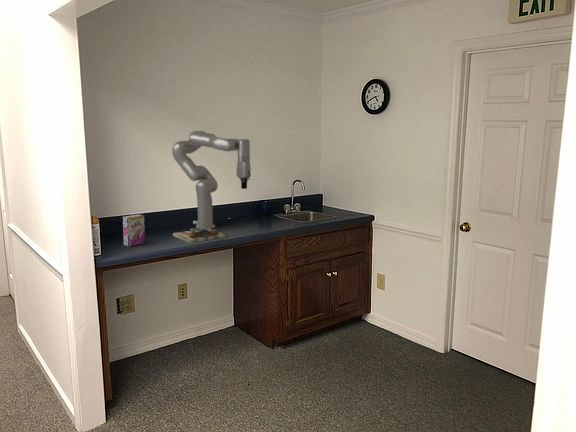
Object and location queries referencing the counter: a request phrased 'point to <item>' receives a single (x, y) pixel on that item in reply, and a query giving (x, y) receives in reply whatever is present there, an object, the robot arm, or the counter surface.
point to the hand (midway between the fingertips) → (244, 188)
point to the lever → (198, 234)
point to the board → (186, 237)
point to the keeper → (203, 232)
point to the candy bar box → (133, 230)
